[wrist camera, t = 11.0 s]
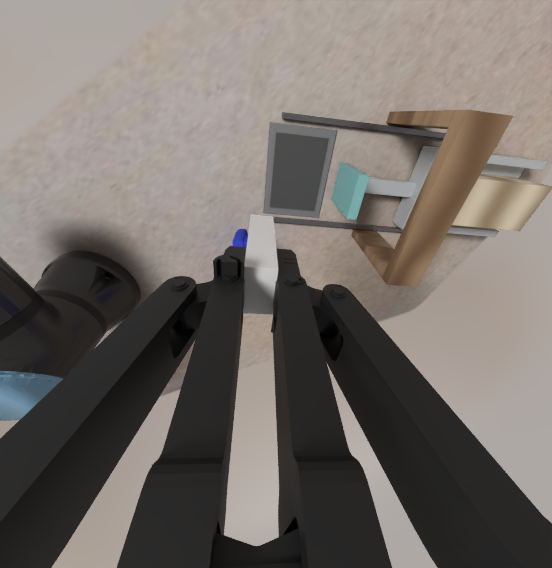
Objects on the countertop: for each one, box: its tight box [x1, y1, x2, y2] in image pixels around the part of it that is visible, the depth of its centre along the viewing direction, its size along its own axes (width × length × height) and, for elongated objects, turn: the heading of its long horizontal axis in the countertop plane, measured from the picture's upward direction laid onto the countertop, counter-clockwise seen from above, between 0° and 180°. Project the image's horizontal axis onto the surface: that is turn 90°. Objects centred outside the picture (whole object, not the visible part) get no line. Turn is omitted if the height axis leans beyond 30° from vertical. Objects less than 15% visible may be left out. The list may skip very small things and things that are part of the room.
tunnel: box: [351, 110, 513, 286], centre depth 30 cm, size 4×17×14 cm, turn 174°
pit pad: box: [264, 122, 337, 217], centre depth 34 cm, size 9×12×1 cm
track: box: [273, 112, 502, 239], centre depth 35 cm, size 30×15×1 cm, turn 84°
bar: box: [452, 173, 552, 231], centre depth 33 cm, size 12×6×6 cm, turn 84°
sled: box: [331, 146, 547, 237], centre depth 32 cm, size 28×11×10 cm, turn 84°
